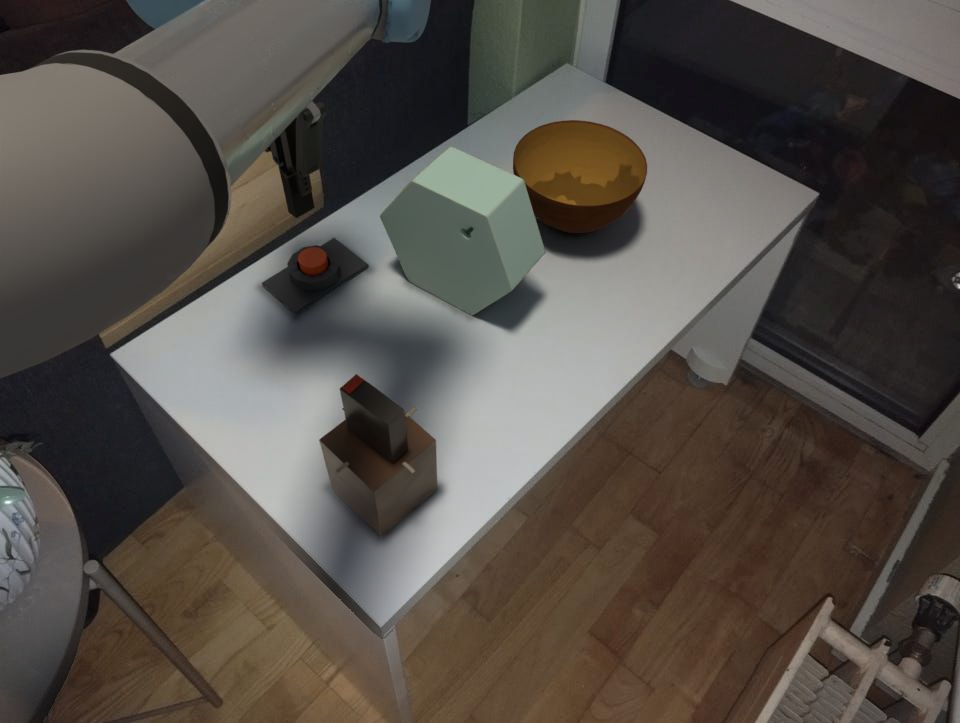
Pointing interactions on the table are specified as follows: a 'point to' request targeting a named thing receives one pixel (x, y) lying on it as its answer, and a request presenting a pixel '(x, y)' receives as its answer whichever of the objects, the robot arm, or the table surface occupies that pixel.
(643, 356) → the table surface
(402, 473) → the pegged wooden cube
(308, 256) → the button
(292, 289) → the button box
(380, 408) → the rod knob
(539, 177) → the bowl
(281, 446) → the table surface
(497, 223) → the sage hexagonal prism
